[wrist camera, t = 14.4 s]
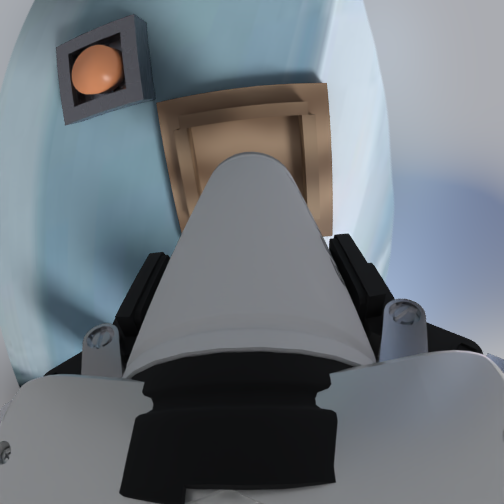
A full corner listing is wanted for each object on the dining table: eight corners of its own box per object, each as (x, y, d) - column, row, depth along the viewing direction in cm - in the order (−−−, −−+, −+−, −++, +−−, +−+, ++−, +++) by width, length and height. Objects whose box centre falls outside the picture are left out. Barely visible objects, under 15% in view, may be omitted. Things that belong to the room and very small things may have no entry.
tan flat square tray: (160, 102, 25) (149, 103, 22) (323, 83, 24) (332, 81, 21) (188, 243, 33) (182, 259, 30) (329, 229, 32) (337, 244, 29)
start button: (83, 57, 20) (69, 56, 18) (124, 41, 20) (113, 37, 18) (88, 99, 23) (74, 101, 20) (130, 85, 23) (118, 84, 20)
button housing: (73, 50, 21) (56, 47, 18) (146, 22, 20) (133, 14, 17) (82, 121, 25) (65, 125, 22) (155, 99, 25) (143, 99, 21)
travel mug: (207, 236, 22) (141, 544, 4) (206, 149, 19) (-2, 499, 1) (290, 240, 22) (350, 545, 5) (299, 153, 19) (505, 494, 1)
